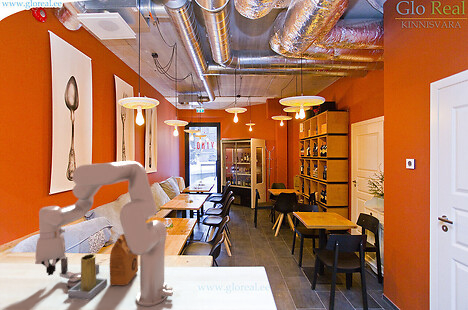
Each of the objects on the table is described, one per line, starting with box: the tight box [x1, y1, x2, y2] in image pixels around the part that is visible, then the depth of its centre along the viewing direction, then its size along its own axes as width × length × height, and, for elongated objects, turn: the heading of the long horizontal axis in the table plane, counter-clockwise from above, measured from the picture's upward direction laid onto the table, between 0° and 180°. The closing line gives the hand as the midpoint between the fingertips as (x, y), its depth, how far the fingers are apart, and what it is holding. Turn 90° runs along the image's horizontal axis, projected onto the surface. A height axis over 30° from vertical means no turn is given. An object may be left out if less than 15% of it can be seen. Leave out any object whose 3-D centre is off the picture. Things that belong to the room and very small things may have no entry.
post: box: [95, 263, 100, 275], centre depth 110 cm, size 2×2×4 cm
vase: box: [80, 253, 97, 292], centre depth 96 cm, size 6×6×14 cm
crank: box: [59, 256, 81, 283], centre depth 102 cm, size 12×6×8 cm, turn 72°
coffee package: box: [109, 233, 139, 286], centre depth 105 cm, size 10×12×22 cm
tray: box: [67, 277, 108, 301], centre depth 96 cm, size 10×10×3 cm
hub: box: [66, 279, 81, 290], centre depth 101 cm, size 7×7×2 cm
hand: (51, 273), depth 101 cm, fingers closed
